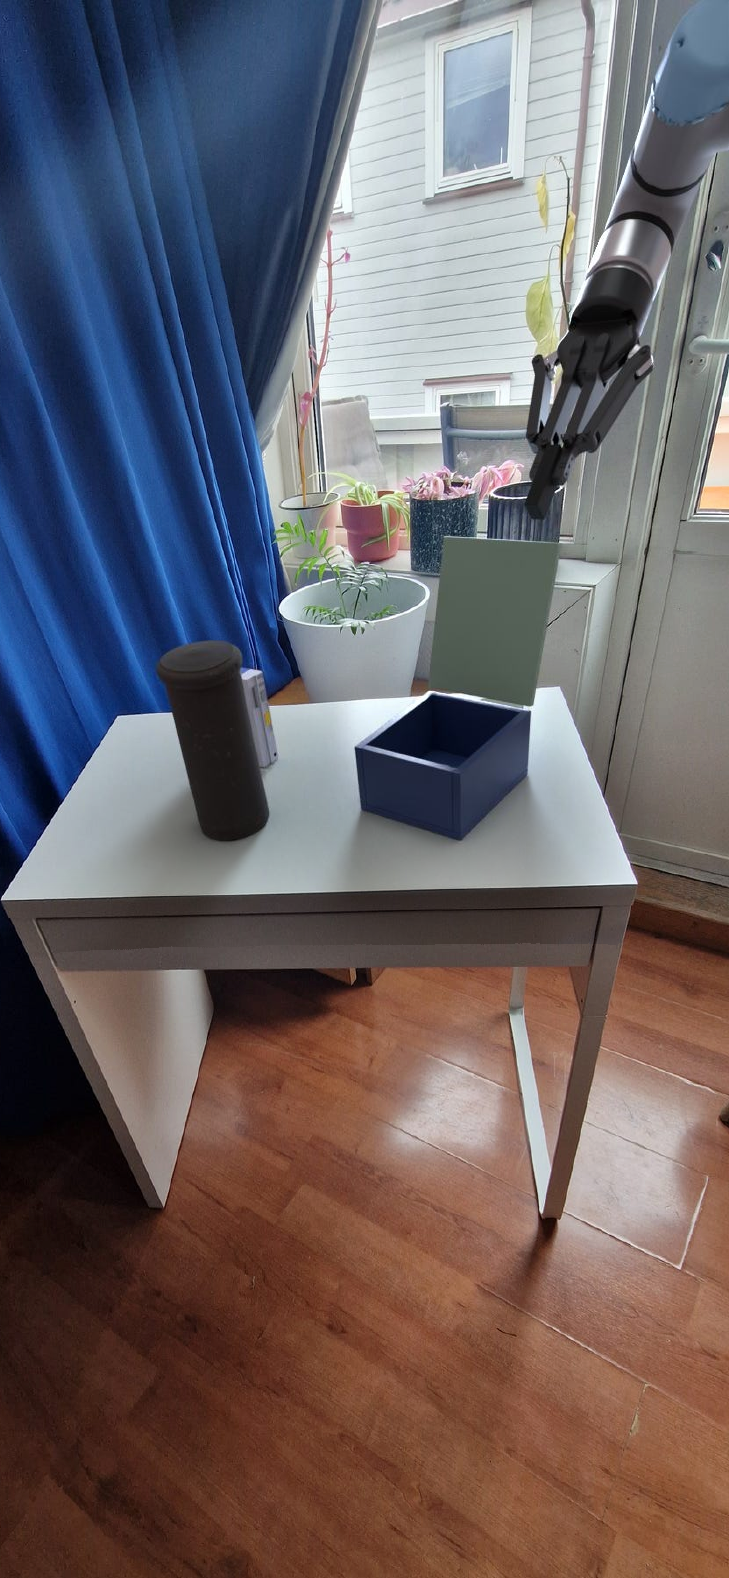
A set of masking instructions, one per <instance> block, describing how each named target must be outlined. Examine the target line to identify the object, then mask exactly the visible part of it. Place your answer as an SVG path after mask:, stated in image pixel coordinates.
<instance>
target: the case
mask: <svg viewBox="0 0 729 1578" xmlns="http://www.w3.org/2000/svg"><path fill="white" fill-rule="evenodd" d="M531 721H532V710H531V709H526V708H521V707H515V706H510V705H505V704H501V703H495V702H490V701H486V700H480V699H475V698H469V697H464V696H459V695H456V694H455V695H454V694H450V693H449V694H448V693H442V692H439V691H434V690H428V691H426V693H424V694H423V695H422V696H420V697H419V698H418V699H416V700H415V701H413V702H412V703H411V704H409V705H408V706H407V707H405V708H404V709H403V710H401V711H400V712H399V713H398V714H396V715H395V716H394V717H392V718H391V719H390V720H388V721H387V722H386V723H384V724H383V725H381V726H380V727H379V728H377V729H376V730H375V731H374V732H372V733H370V734H369V735H368V736H367V737H365V738H364V739H363V740H361V741H360V742H359V743H357V744H355V746H354V756H355V764H356V765H355V767H356V776H357V785H358V794H359V803H360V810H362V811H365V812H368V813H372V814H374V815H377V816H381V817H384V818H386V819H387V818H388V819H390V820H394V821H396V822H399V823H403V824H407V825H410V826H412V827H416V828H419V829H422V830H425V831H429V832H431V833H435V834H438V835H442V836H444V837H447V838H451V839H453V840H457V841H462V840H463V839H464V838H465V837H466V836H467V835H468V834H469V833H470V832H471V831H472V830H473V829H474V828H475V827H476V826H477V825H478V824H479V823H480V822H481V821H482V820H483V819H484V818H485V817H486V816H487V815H488V814H489V813H490V812H491V811H492V810H493V809H494V808H495V807H496V806H497V805H498V804H499V803H500V802H501V801H502V800H503V799H504V798H505V797H507V795H508V794H509V793H510V792H512V790H513V789H514V788H516V786H518V784H519V783H520V782H521V781H523V780H524V779H525V778H526V777H527V776H528V774H529V756H530V755H529V754H530V737H531Z"/></svg>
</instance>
